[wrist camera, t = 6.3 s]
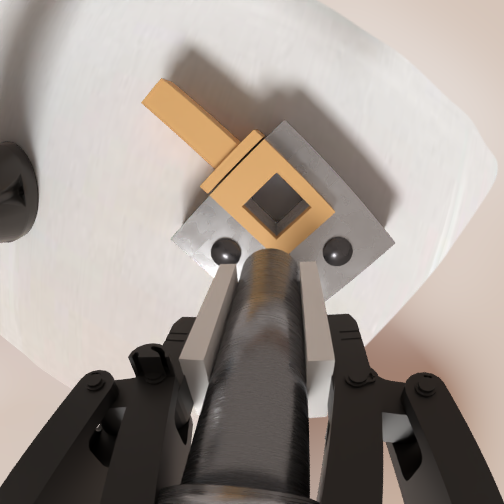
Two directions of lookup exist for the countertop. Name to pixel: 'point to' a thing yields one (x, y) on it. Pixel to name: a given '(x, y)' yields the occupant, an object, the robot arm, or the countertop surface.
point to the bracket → (238, 167)
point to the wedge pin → (254, 398)
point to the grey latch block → (315, 245)
